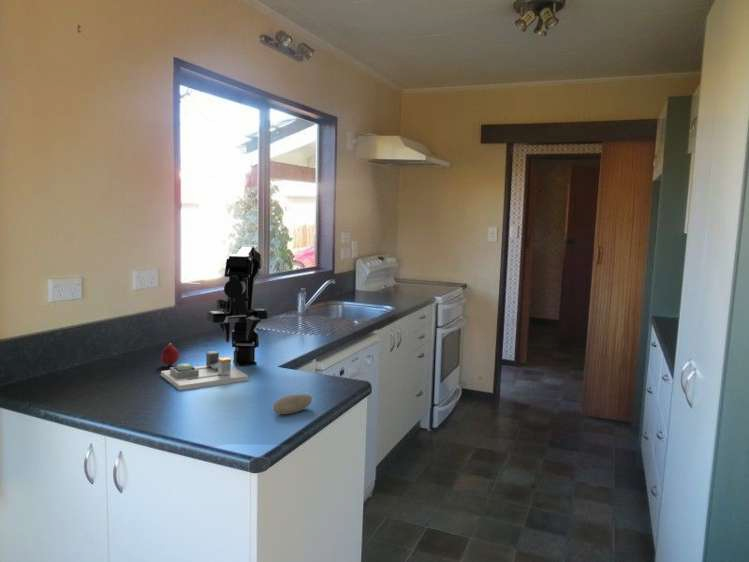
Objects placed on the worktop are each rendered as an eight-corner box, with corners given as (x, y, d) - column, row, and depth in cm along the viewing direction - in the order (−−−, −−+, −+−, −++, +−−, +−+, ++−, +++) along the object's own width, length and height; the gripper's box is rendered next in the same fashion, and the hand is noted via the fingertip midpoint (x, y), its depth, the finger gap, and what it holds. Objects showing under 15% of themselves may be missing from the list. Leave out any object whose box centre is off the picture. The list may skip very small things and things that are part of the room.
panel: (225, 367, 198) (225, 357, 197) (247, 380, 184) (248, 369, 183) (161, 375, 185) (161, 364, 184) (179, 390, 170) (179, 379, 170)
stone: (266, 405, 153) (295, 383, 162) (275, 426, 154) (304, 403, 163) (280, 403, 149) (308, 381, 159) (289, 424, 150) (317, 401, 159)
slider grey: (215, 364, 194) (215, 350, 193) (218, 367, 191) (218, 352, 191) (205, 366, 192) (206, 351, 191) (209, 368, 189) (209, 353, 189)
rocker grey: (224, 361, 192) (224, 359, 192) (229, 364, 189) (228, 362, 189) (210, 366, 189) (210, 364, 189) (214, 369, 186) (214, 367, 186)
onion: (172, 369, 193) (172, 345, 192) (157, 367, 194) (157, 344, 193) (181, 364, 198) (182, 342, 197) (166, 363, 199) (167, 340, 199)
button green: (188, 367, 184) (188, 362, 184) (193, 370, 181) (193, 366, 181) (175, 369, 182) (175, 364, 182) (179, 372, 178) (179, 367, 178)
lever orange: (226, 372, 186) (227, 357, 185) (230, 374, 184) (231, 359, 183) (217, 373, 184) (217, 358, 184) (221, 375, 182) (221, 360, 181)
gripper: (254, 289, 196) (253, 334, 197) (201, 291, 184) (200, 339, 186) (269, 293, 187) (267, 340, 189) (214, 296, 176) (213, 346, 177)
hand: (237, 341), depth 185 cm, fingers open, 7 cm apart
